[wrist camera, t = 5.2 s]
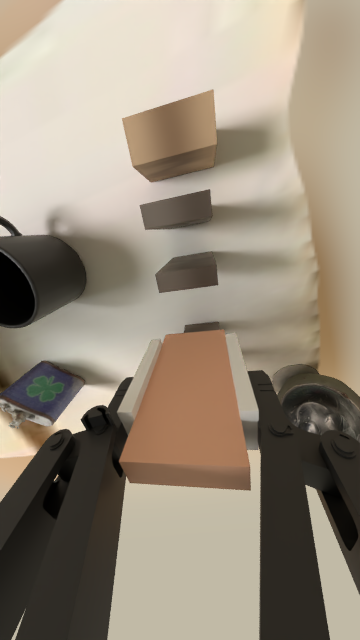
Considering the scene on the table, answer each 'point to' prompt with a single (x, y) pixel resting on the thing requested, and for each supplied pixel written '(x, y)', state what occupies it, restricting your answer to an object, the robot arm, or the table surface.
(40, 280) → the mug
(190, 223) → the domino
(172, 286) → the domino
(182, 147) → the bookend
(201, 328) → the domino
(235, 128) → the table surface
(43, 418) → the flask
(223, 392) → the domino
